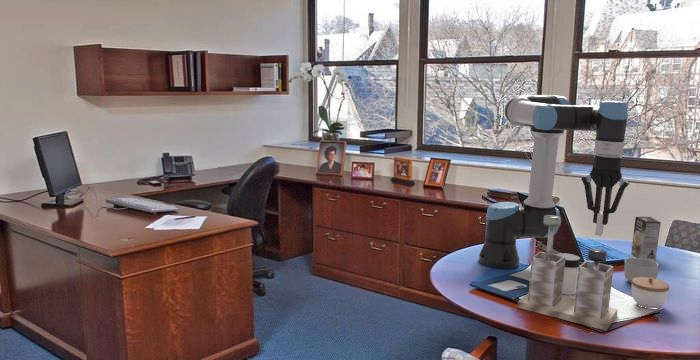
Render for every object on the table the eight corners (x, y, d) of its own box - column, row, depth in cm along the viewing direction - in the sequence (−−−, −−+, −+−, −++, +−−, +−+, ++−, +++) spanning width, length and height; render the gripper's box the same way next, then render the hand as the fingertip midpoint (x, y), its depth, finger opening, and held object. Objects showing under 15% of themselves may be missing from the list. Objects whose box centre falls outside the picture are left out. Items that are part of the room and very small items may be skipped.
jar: (583, 293, 195) (587, 259, 193) (565, 296, 192) (569, 262, 189) (563, 284, 203) (566, 251, 201) (545, 287, 200) (548, 254, 197)
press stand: (517, 307, 181) (521, 258, 179) (532, 294, 193) (537, 248, 190) (606, 330, 166) (612, 277, 164) (617, 315, 178) (622, 265, 175)
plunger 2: (577, 306, 174) (583, 251, 171) (583, 300, 179) (589, 246, 176) (600, 312, 170) (606, 255, 167) (605, 305, 176) (611, 250, 172)
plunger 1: (533, 270, 181) (538, 217, 178) (540, 265, 186) (545, 213, 183) (554, 275, 177) (559, 220, 174) (560, 270, 182) (566, 216, 179)
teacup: (660, 289, 201) (663, 267, 199) (626, 286, 203) (629, 264, 201) (648, 276, 214) (650, 255, 213) (616, 273, 216) (619, 253, 215)
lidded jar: (622, 299, 191) (625, 272, 189) (653, 299, 192) (657, 272, 190) (641, 312, 180) (644, 283, 179) (673, 312, 181) (677, 283, 180)
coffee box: (630, 253, 242) (634, 216, 240) (645, 253, 242) (650, 216, 240) (640, 260, 233) (645, 221, 231) (656, 260, 233) (661, 222, 230)
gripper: (580, 154, 167) (572, 233, 172) (629, 159, 160) (619, 241, 165) (587, 151, 173) (579, 227, 178) (635, 156, 166) (625, 236, 171)
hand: (598, 234), depth 171 cm, fingers closed
